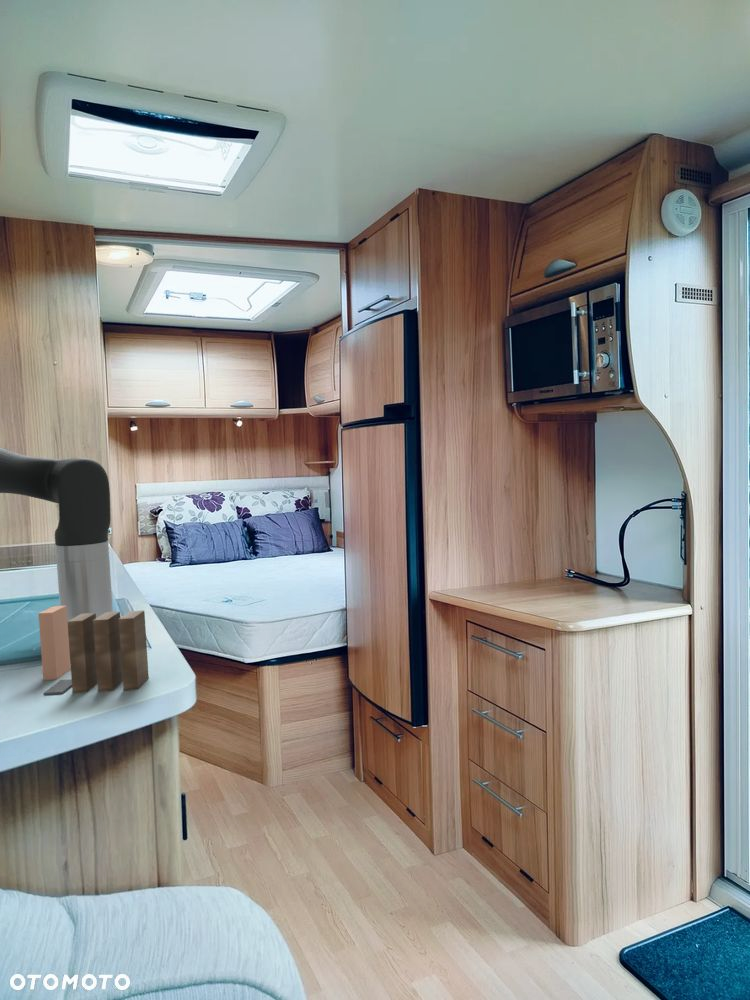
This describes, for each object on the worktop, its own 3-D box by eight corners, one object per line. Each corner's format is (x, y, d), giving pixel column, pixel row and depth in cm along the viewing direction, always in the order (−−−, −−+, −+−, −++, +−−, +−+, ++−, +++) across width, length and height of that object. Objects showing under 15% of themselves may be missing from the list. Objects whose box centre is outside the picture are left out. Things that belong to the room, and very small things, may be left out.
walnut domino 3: (123, 690, 95) (118, 618, 94) (134, 678, 100) (130, 611, 99) (138, 689, 95) (133, 618, 94) (148, 678, 100) (144, 610, 99)
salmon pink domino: (43, 680, 101) (38, 613, 101) (57, 669, 106) (53, 606, 106) (56, 679, 101) (52, 612, 101) (70, 669, 106) (66, 605, 106)
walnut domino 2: (98, 691, 95) (93, 620, 94) (110, 680, 100) (106, 612, 99) (112, 690, 95) (107, 619, 94) (124, 679, 100) (120, 611, 99)
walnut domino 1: (72, 692, 95) (67, 621, 94) (86, 681, 100) (81, 613, 99) (87, 692, 95) (82, 620, 94) (100, 680, 100) (95, 612, 99)
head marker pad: (43, 694, 94) (43, 692, 94) (60, 682, 100) (60, 679, 100) (62, 693, 94) (62, 691, 94) (78, 681, 100) (78, 679, 100)
